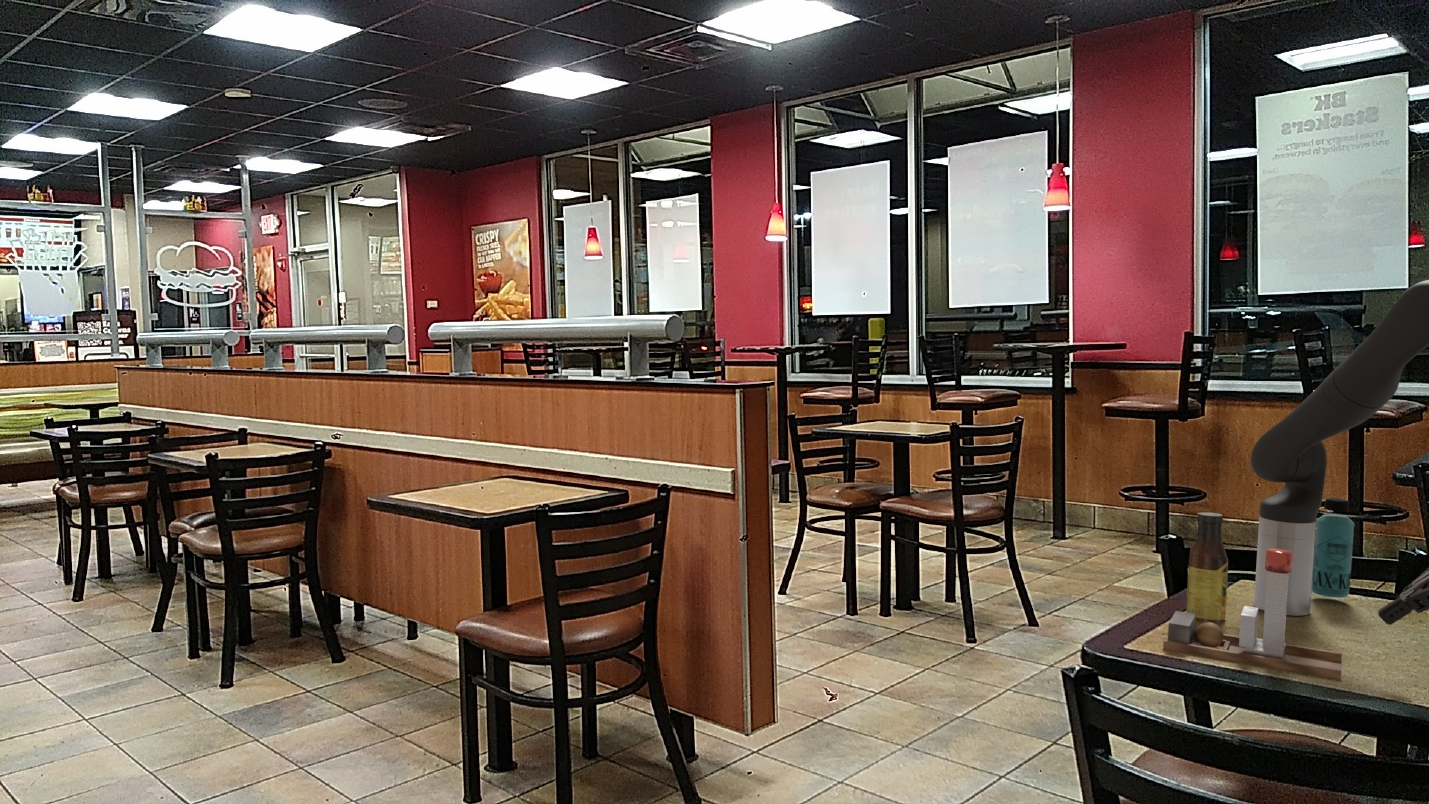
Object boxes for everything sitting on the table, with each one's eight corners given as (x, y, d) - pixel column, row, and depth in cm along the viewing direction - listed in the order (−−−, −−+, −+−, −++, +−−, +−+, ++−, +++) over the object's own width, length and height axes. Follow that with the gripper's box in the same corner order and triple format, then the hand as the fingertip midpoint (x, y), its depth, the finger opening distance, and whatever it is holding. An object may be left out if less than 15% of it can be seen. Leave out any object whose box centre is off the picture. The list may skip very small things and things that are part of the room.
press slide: (1287, 652, 158) (1293, 548, 157) (1284, 664, 152) (1291, 557, 151) (1242, 644, 162) (1248, 543, 160) (1238, 656, 156) (1244, 551, 154)
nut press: (1340, 669, 156) (1342, 634, 155) (1339, 689, 147) (1342, 652, 147) (1171, 641, 168) (1173, 609, 168) (1162, 657, 160) (1164, 624, 160)
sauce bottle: (1229, 632, 174) (1236, 518, 172) (1190, 629, 175) (1197, 516, 173) (1218, 621, 180) (1225, 511, 179) (1181, 618, 181) (1187, 509, 180)
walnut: (1191, 642, 163) (1192, 618, 163) (1217, 643, 163) (1218, 619, 162) (1200, 650, 159) (1201, 625, 159) (1226, 652, 159) (1228, 627, 158)
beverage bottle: (1303, 595, 198) (1309, 495, 196) (1337, 596, 198) (1344, 495, 196) (1321, 605, 192) (1328, 501, 190) (1357, 606, 191) (1364, 502, 190)
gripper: (1468, 519, 147) (1362, 587, 155) (1477, 536, 136) (1363, 609, 144) (1510, 560, 145) (1400, 627, 153) (1523, 581, 134) (1404, 652, 142)
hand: (1382, 618), depth 148 cm, fingers closed
